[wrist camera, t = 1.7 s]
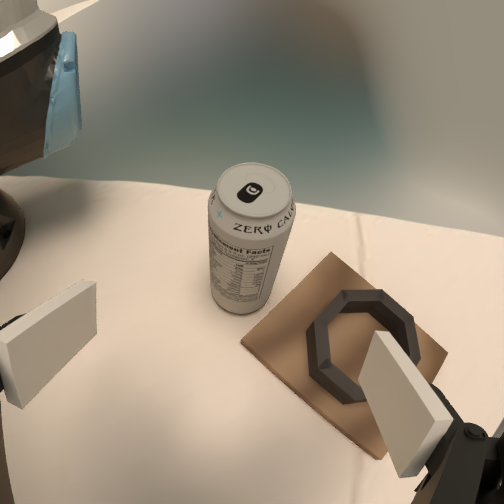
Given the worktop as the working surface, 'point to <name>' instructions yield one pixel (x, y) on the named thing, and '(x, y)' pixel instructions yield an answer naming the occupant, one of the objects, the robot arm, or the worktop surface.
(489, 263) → the worktop surface
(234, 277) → the energy drink can
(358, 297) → the wooden can holder
